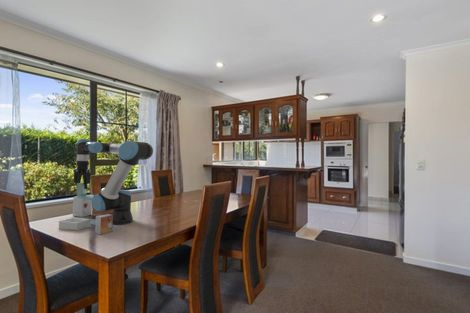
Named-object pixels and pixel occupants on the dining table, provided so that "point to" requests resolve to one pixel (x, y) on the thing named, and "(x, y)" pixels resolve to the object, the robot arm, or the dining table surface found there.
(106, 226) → the small box
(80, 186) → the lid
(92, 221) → the mat
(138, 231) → the dining table surface
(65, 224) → the tub
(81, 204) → the supplement box
